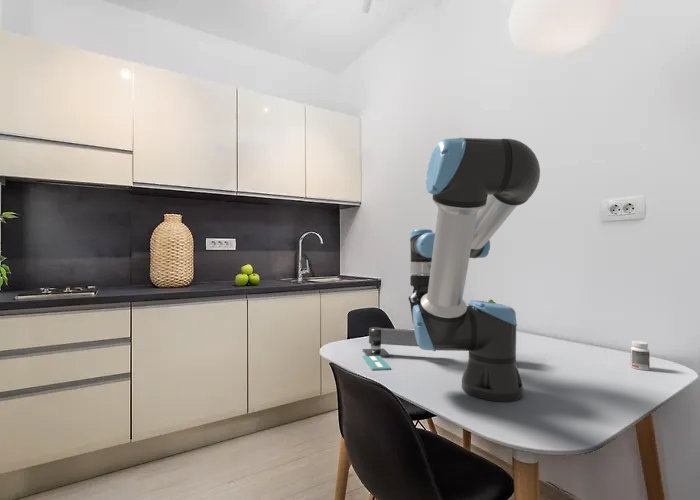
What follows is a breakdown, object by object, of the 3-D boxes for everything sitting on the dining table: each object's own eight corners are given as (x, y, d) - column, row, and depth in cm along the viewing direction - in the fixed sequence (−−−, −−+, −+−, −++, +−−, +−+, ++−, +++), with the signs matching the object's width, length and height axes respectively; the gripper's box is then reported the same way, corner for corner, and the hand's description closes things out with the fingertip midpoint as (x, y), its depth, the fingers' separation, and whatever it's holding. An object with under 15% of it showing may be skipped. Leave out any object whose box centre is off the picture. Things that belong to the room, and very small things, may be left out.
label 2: (390, 369, 112) (391, 367, 112) (372, 370, 111) (372, 368, 111) (384, 362, 118) (384, 360, 118) (367, 363, 117) (367, 361, 117)
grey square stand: (389, 356, 125) (389, 345, 126) (367, 357, 124) (367, 346, 124) (383, 350, 133) (383, 340, 133) (362, 351, 132) (362, 340, 132)
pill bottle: (653, 371, 113) (653, 344, 113) (635, 370, 114) (636, 343, 114) (644, 366, 118) (644, 341, 118) (627, 365, 119) (627, 340, 119)
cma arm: (437, 344, 127) (437, 330, 127) (437, 348, 122) (437, 333, 122) (370, 340, 132) (370, 327, 132) (367, 344, 127) (368, 329, 127)
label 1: (384, 362, 118) (384, 360, 118) (367, 363, 117) (367, 361, 117) (379, 356, 125) (379, 354, 125) (362, 357, 124) (362, 355, 124)
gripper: (421, 275, 115) (421, 349, 115) (440, 274, 125) (440, 342, 124) (401, 274, 120) (401, 345, 120) (421, 273, 130) (421, 339, 129)
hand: (421, 344), depth 122 cm, fingers closed
